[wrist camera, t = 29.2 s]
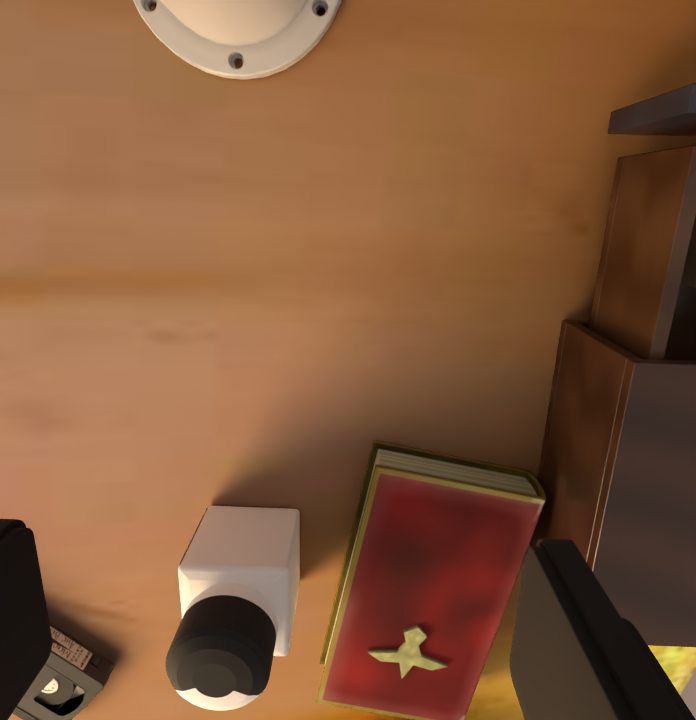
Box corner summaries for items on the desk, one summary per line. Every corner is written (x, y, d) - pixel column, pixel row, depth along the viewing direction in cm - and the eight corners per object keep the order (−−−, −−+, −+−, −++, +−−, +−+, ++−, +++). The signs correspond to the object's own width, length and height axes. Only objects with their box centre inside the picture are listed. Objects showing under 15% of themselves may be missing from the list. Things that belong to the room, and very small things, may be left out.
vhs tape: (115, 666, 45) (104, 687, 43) (65, 715, 46) (53, 737, 44) (-29, 572, 42) (-48, 590, 40) (-76, 628, 44) (-96, 648, 42)
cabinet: (561, 319, 35) (634, 362, 26) (750, 325, 35) (891, 371, 25) (527, 541, 40) (577, 643, 31) (690, 547, 40) (790, 651, 31)
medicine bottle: (207, 503, 40) (145, 627, 28) (300, 507, 39) (276, 633, 28) (211, 580, 42) (156, 725, 30) (300, 583, 42) (278, 730, 30)
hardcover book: (532, 471, 38) (552, 503, 34) (456, 683, 44) (466, 732, 40) (374, 440, 38) (375, 469, 34) (320, 659, 44) (316, 706, 40)
